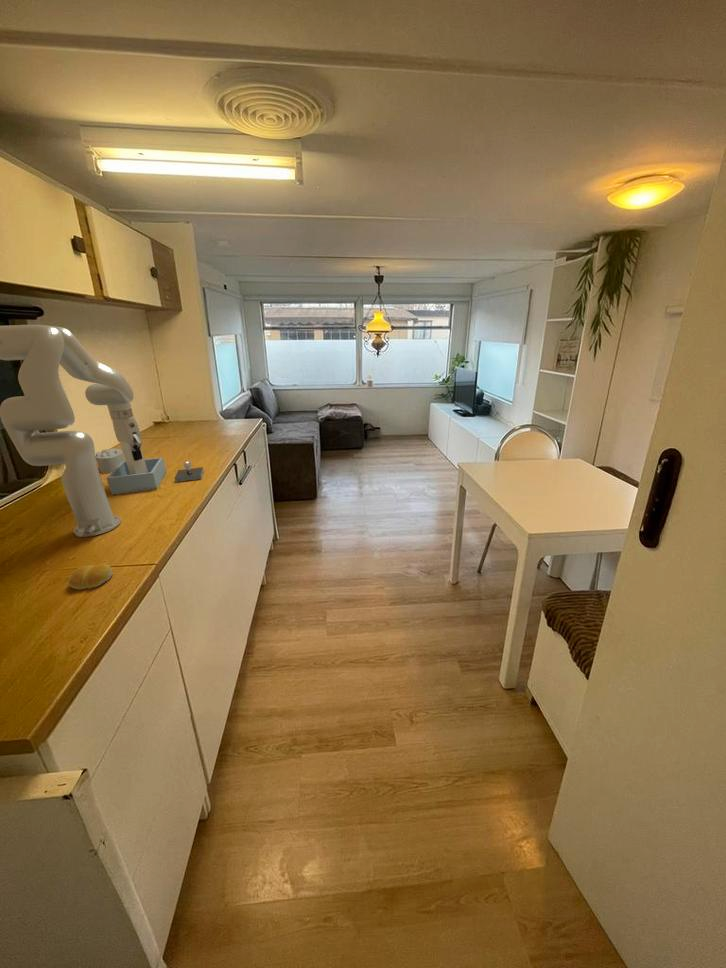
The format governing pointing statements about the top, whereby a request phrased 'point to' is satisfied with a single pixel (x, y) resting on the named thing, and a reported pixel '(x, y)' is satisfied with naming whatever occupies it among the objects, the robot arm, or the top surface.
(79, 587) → the bread roll
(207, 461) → the top surface
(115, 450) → the lumpy-topped squat cylinder
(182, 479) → the stud base
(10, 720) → the top surface
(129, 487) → the bin
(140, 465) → the strut
